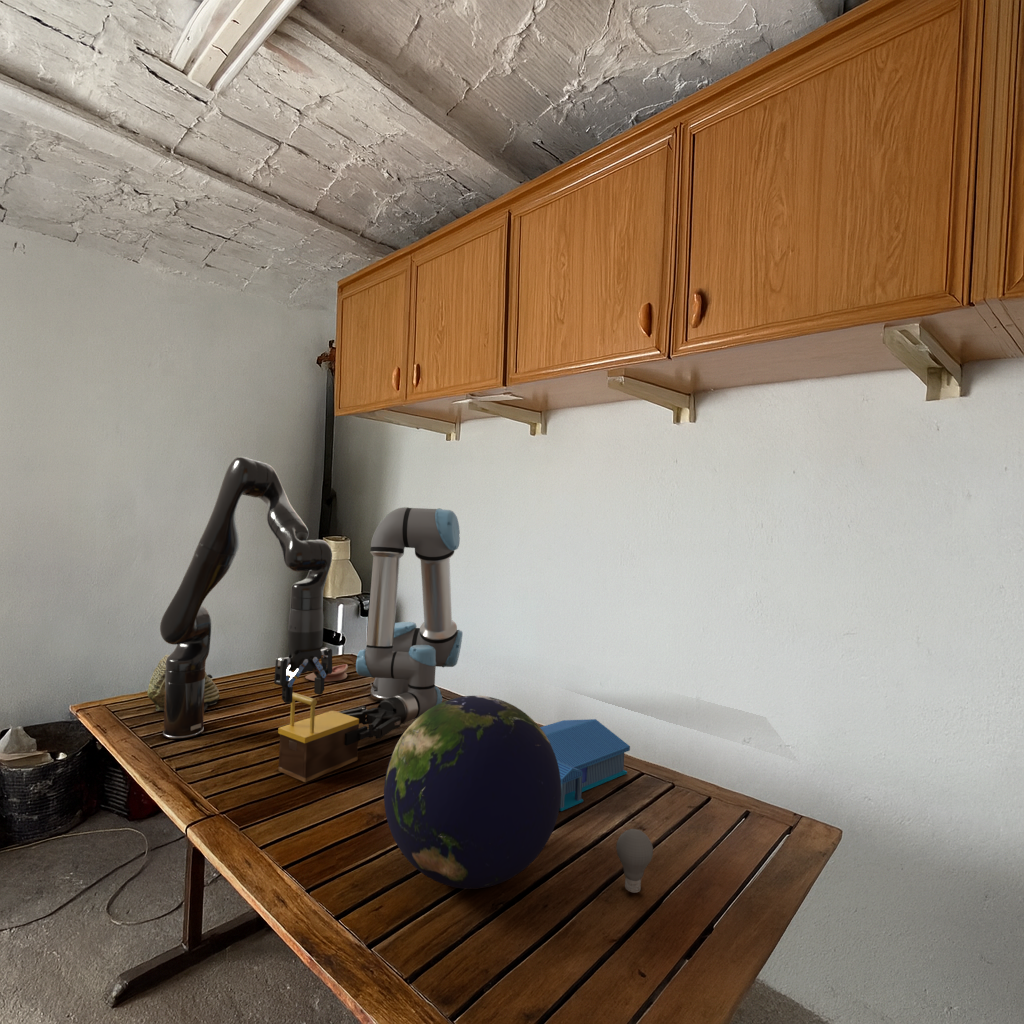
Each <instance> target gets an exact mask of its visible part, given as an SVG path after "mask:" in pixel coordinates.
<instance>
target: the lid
mask: <svg viewBox="0 0 1024 1024" xmlns="http://www.w3.org/2000/svg"><path fill="white" fill-rule="evenodd" d="M296 702H300V703H303V704H305V705H309V706H310V712H309V713H310V715H309V717H308V718H304V719H301V720H298V721H295V715H296V713H295V712H296ZM317 703H318V700H317V699H316V698H313V697H310V696H306V695H303V694H300V693H296V692H294V691H293V696H292V703H290V713H289V716H290V718H289V724H287V725H283V726H279V727H278V731H277V733H278V734H279V735H280V734H281V735H284V736H287V737H289V738H292V739H295V740H297V741H300V742H303V743H307V742H310V741H313V740H316V739H318V738H321V737H324V736H327V735H329V734H332V733H335V732H338V731H340V730H343V729H346V728H349V727H352V726H354V725H357V724H359V725H360V723H359V719H358V718H355V717H352V716H349V715H346V714H343V713H340V712H341V711H336V710H328V711H326V712H324V713H321V714H315V713H316V705H317Z"/></svg>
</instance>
